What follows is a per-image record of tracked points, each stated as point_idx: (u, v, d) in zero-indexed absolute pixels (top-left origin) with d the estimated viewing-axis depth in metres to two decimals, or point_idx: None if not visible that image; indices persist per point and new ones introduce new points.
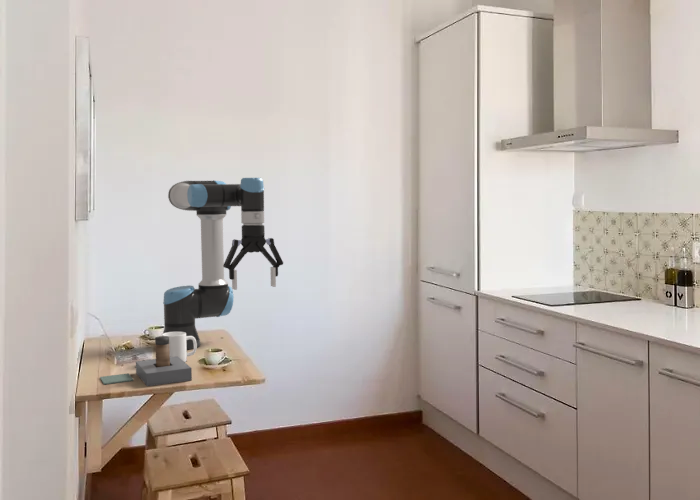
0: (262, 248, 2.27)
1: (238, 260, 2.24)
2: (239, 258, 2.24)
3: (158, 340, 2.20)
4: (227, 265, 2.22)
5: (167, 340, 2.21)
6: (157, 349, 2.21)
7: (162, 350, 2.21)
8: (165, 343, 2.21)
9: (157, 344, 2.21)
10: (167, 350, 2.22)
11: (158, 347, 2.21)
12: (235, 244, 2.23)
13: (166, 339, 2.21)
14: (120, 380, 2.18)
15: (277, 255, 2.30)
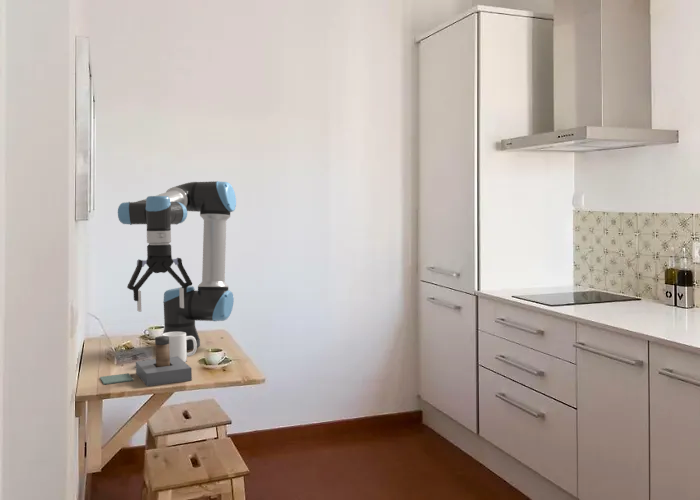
0: (169, 268, 2.20)
1: (142, 281, 2.17)
2: (143, 279, 2.17)
3: (158, 340, 2.20)
4: (130, 286, 2.15)
5: (167, 340, 2.21)
6: (157, 349, 2.21)
7: (162, 350, 2.21)
8: (165, 343, 2.21)
9: (157, 344, 2.21)
10: (167, 350, 2.22)
11: (158, 347, 2.21)
12: (139, 264, 2.16)
13: (166, 339, 2.21)
14: (120, 380, 2.18)
15: (185, 275, 2.23)
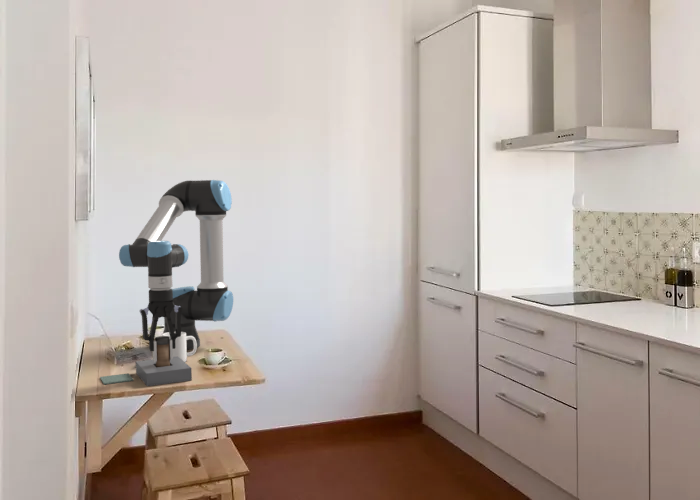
0: (167, 314, 2.21)
1: (154, 330, 2.20)
2: (154, 327, 2.20)
3: (158, 340, 2.20)
4: (146, 337, 2.19)
5: (167, 340, 2.21)
6: (157, 349, 2.21)
7: (162, 350, 2.21)
8: (165, 343, 2.21)
9: (157, 344, 2.21)
10: (167, 350, 2.22)
11: (158, 347, 2.21)
12: (143, 315, 2.18)
13: (166, 339, 2.21)
14: (120, 380, 2.18)
15: (178, 325, 2.23)
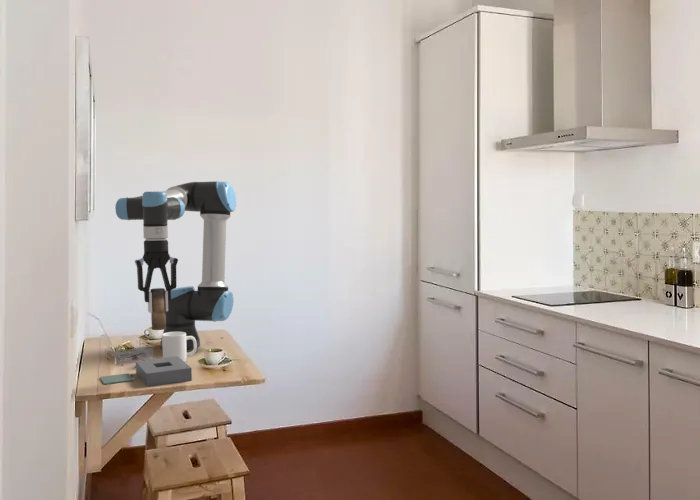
0: (163, 265, 2.20)
1: (149, 280, 2.18)
2: (149, 278, 2.18)
3: (153, 291, 2.19)
4: (141, 288, 2.17)
5: (162, 292, 2.20)
6: (152, 300, 2.19)
7: (157, 301, 2.19)
8: (161, 294, 2.19)
9: (152, 295, 2.19)
10: (163, 301, 2.20)
11: (154, 299, 2.19)
12: (138, 265, 2.16)
13: (161, 290, 2.20)
14: (120, 380, 2.18)
15: (174, 277, 2.22)
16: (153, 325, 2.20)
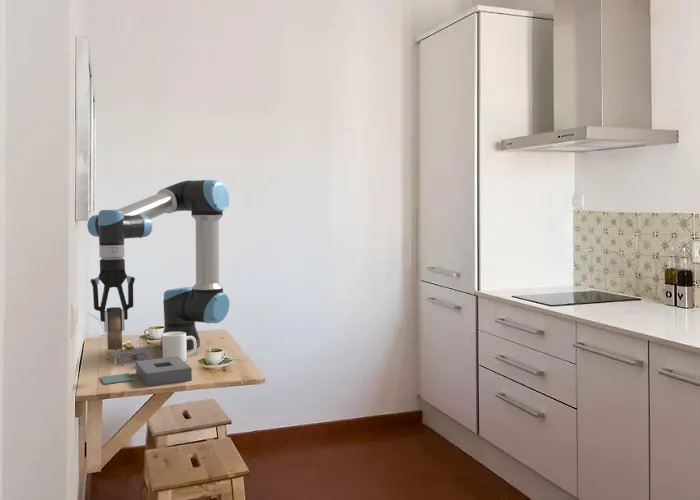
0: (119, 284, 2.17)
1: (104, 300, 2.16)
2: (104, 297, 2.16)
3: (109, 311, 2.16)
4: (96, 307, 2.15)
5: (118, 311, 2.17)
6: (108, 320, 2.17)
7: (113, 321, 2.17)
8: (116, 314, 2.17)
9: (108, 315, 2.17)
10: (119, 321, 2.18)
11: (110, 318, 2.17)
12: (93, 284, 2.14)
13: (117, 310, 2.17)
14: (120, 380, 2.18)
15: (130, 296, 2.20)
16: (109, 345, 2.18)
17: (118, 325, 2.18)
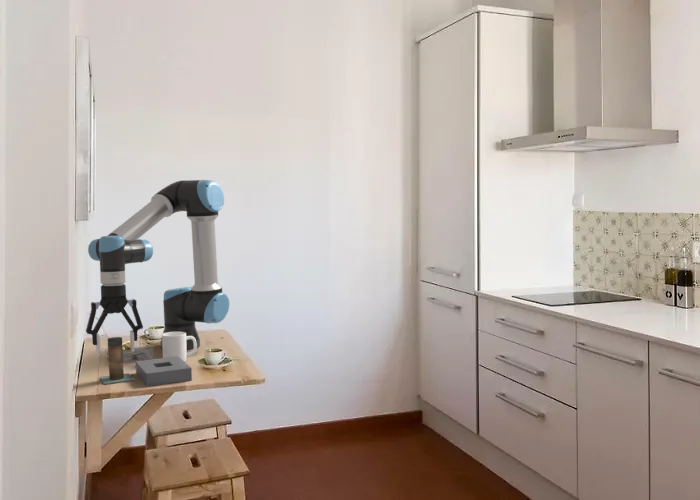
0: (122, 309, 2.18)
1: (99, 324, 2.16)
2: (100, 322, 2.16)
3: (110, 341, 2.17)
4: (88, 331, 2.14)
5: (119, 342, 2.18)
6: (109, 350, 2.18)
7: (114, 351, 2.17)
8: (117, 344, 2.18)
9: (109, 345, 2.17)
10: (120, 351, 2.19)
11: (111, 349, 2.17)
12: (93, 308, 2.14)
13: (118, 340, 2.18)
14: (120, 380, 2.18)
15: (137, 318, 2.21)
16: (110, 375, 2.18)
17: (119, 355, 2.18)
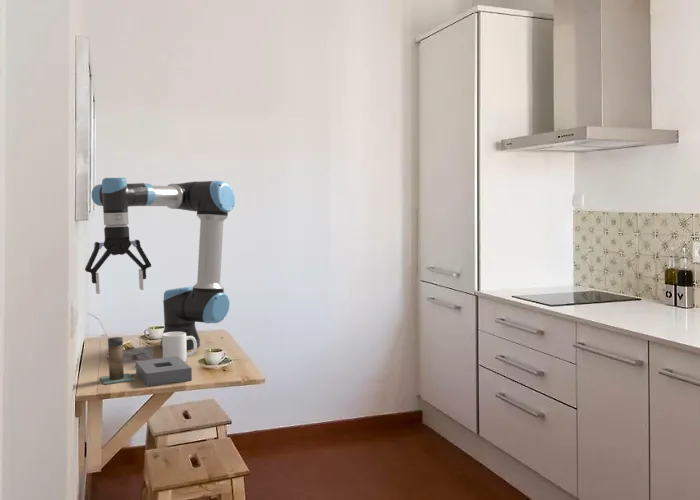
0: (126, 250, 2.20)
1: (100, 263, 2.17)
2: (101, 261, 2.17)
3: (111, 341, 2.17)
4: (88, 269, 2.15)
5: (120, 342, 2.18)
6: (110, 350, 2.18)
7: (115, 351, 2.18)
8: (118, 344, 2.18)
9: (110, 345, 2.18)
10: (120, 351, 2.19)
11: (111, 348, 2.17)
12: (96, 247, 2.16)
13: (119, 340, 2.18)
14: (120, 380, 2.18)
15: (144, 257, 2.23)
16: (110, 375, 2.19)
17: (120, 355, 2.19)
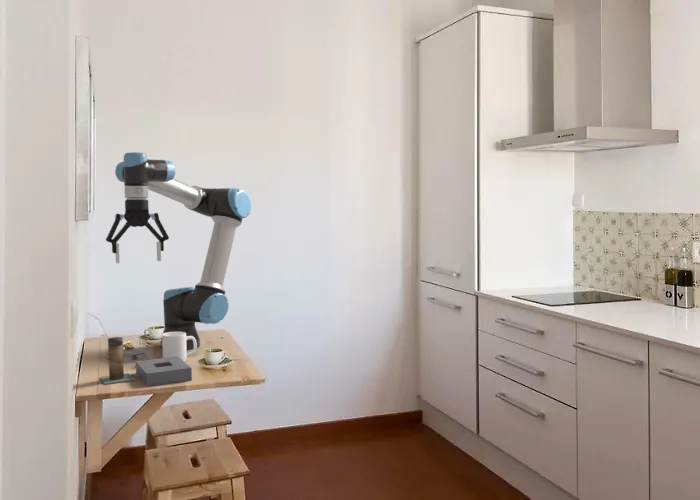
0: (146, 222, 2.30)
1: (120, 234, 2.26)
2: (121, 232, 2.27)
3: (111, 341, 2.17)
4: (109, 239, 2.25)
5: (120, 342, 2.18)
6: (110, 350, 2.18)
7: (115, 351, 2.18)
8: (118, 344, 2.18)
9: (110, 345, 2.18)
10: (120, 351, 2.19)
11: (111, 348, 2.17)
12: (117, 218, 2.26)
13: (119, 340, 2.18)
14: (120, 380, 2.18)
15: (162, 230, 2.33)
16: (110, 375, 2.19)
17: (120, 355, 2.19)
